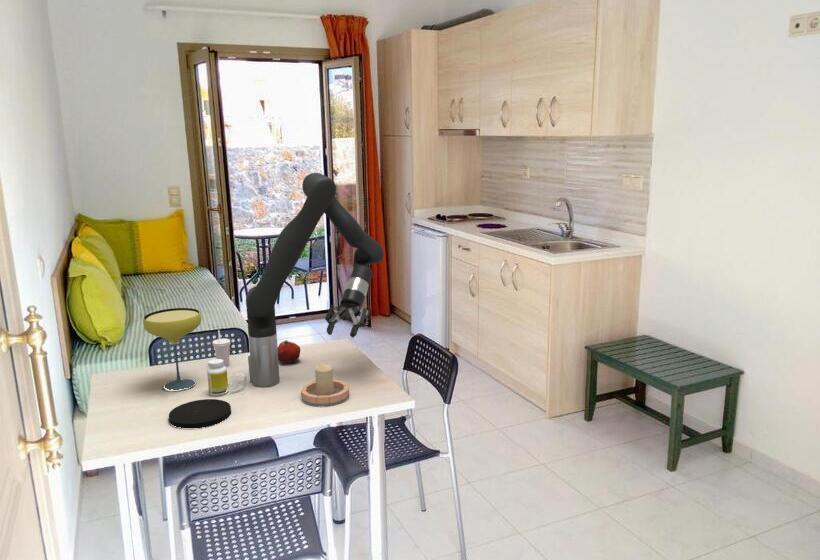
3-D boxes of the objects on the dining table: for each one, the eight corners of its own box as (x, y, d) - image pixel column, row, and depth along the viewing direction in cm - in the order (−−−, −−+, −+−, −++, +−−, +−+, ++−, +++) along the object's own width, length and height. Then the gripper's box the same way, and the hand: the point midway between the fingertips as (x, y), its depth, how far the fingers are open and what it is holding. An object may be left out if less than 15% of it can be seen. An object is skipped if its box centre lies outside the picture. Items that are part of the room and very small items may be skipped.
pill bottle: (232, 391, 211) (230, 359, 209) (218, 398, 206) (215, 365, 204) (219, 388, 215) (216, 356, 212) (205, 394, 209) (202, 362, 207)
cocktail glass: (138, 392, 212) (130, 320, 206) (174, 374, 229) (167, 306, 223) (184, 398, 206) (176, 324, 201) (217, 379, 223) (211, 309, 217)
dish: (292, 401, 202) (291, 392, 202) (320, 385, 215) (319, 376, 214) (331, 409, 195) (331, 400, 195) (357, 392, 208) (357, 383, 208)
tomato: (293, 356, 245) (292, 336, 243) (306, 362, 238) (304, 341, 237) (271, 361, 239) (270, 341, 238) (283, 368, 232) (282, 346, 231)
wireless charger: (242, 416, 193) (241, 410, 192) (185, 435, 181) (185, 429, 180) (213, 400, 205) (213, 394, 205) (159, 417, 193) (158, 411, 193)
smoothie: (214, 364, 238) (211, 328, 234) (232, 362, 239) (229, 326, 236) (214, 370, 232) (211, 333, 228) (233, 368, 233) (229, 331, 230)
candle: (330, 397, 202) (329, 367, 200) (314, 396, 203) (312, 366, 201) (336, 390, 207) (334, 361, 205) (319, 390, 208) (318, 360, 206)
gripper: (332, 286, 219) (317, 327, 211) (370, 289, 214) (355, 331, 206) (340, 297, 225) (326, 338, 217) (377, 300, 220) (363, 342, 212)
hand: (340, 335), depth 212 cm, fingers open, 8 cm apart
